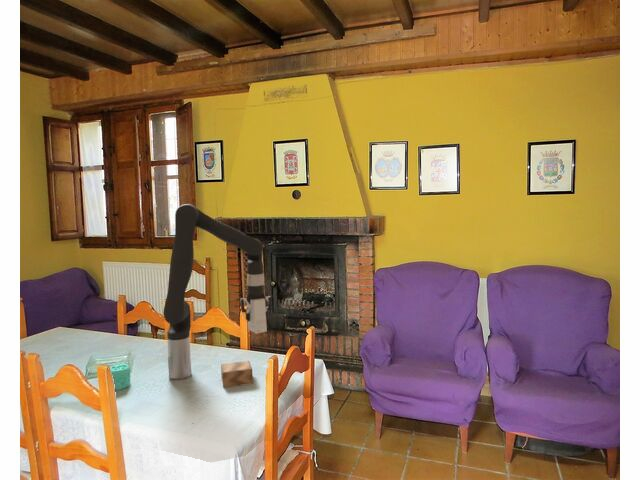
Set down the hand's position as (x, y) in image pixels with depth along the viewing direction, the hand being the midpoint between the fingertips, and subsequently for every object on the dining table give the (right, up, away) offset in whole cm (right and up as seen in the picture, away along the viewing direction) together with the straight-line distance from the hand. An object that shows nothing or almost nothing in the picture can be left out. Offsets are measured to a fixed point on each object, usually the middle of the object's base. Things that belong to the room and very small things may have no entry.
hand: (256, 320), depth 188 cm
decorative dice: (-55, -25, -14) cm, 62 cm away
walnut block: (-7, -24, -10) cm, 27 cm away
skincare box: (0, -5, 0) cm, 5 cm away
